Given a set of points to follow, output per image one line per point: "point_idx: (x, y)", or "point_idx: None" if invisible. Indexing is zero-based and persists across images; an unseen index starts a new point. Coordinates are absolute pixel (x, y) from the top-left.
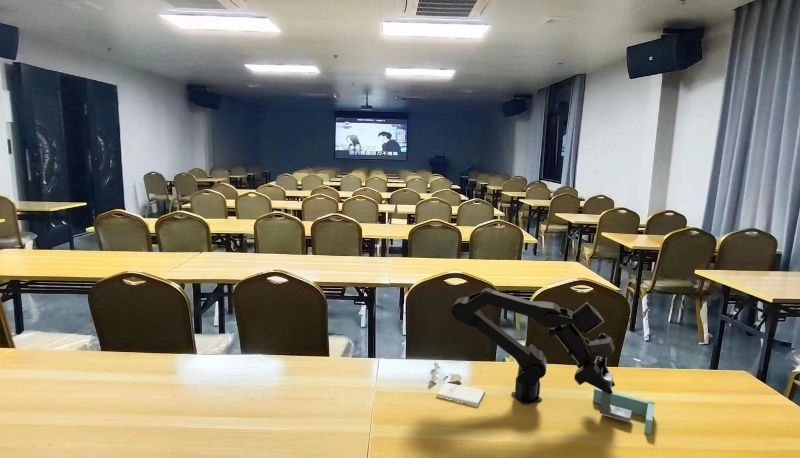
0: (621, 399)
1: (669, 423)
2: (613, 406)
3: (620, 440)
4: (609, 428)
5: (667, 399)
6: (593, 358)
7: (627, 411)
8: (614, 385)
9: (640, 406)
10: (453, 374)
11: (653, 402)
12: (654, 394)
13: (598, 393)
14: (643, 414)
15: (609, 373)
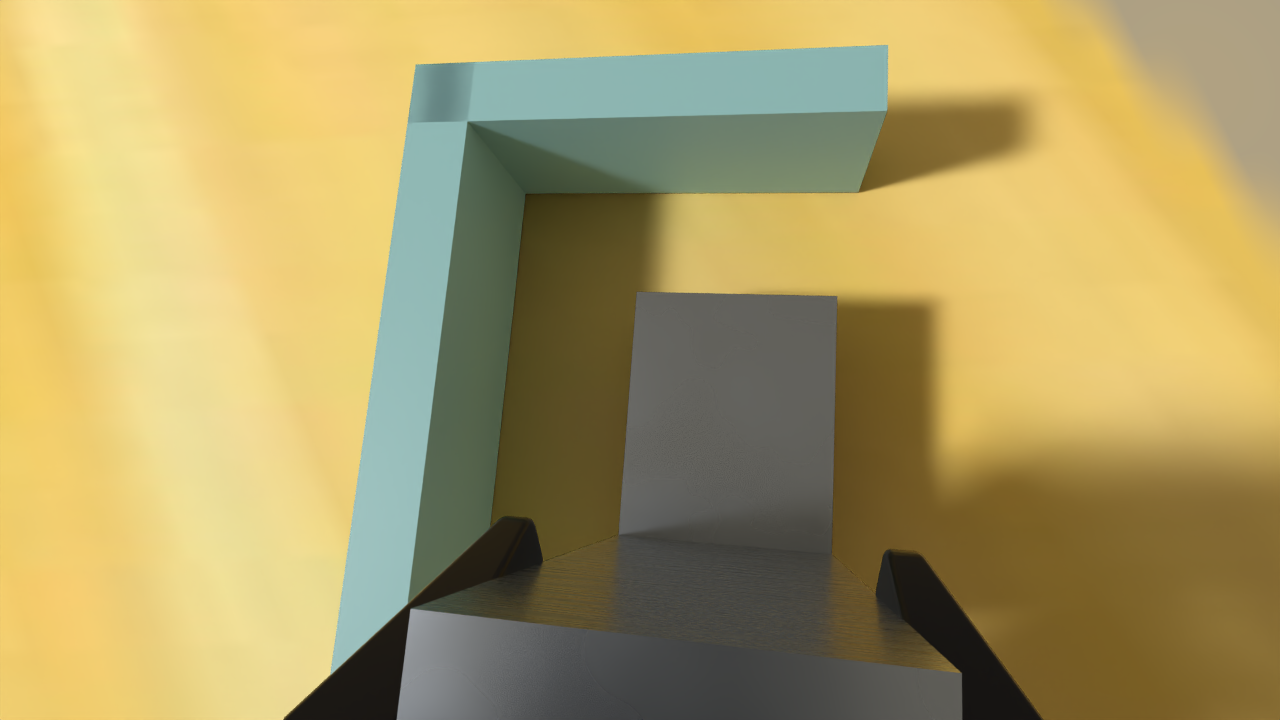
0: (452, 411)
1: (552, 22)
2: (642, 493)
3: (1161, 387)
4: (970, 508)
5: (143, 66)
6: None
7: (682, 334)
8: (532, 523)
9: (485, 218)
10: None
11: (423, 74)
12: (93, 163)
13: None
14: (517, 215)
15: (322, 714)
